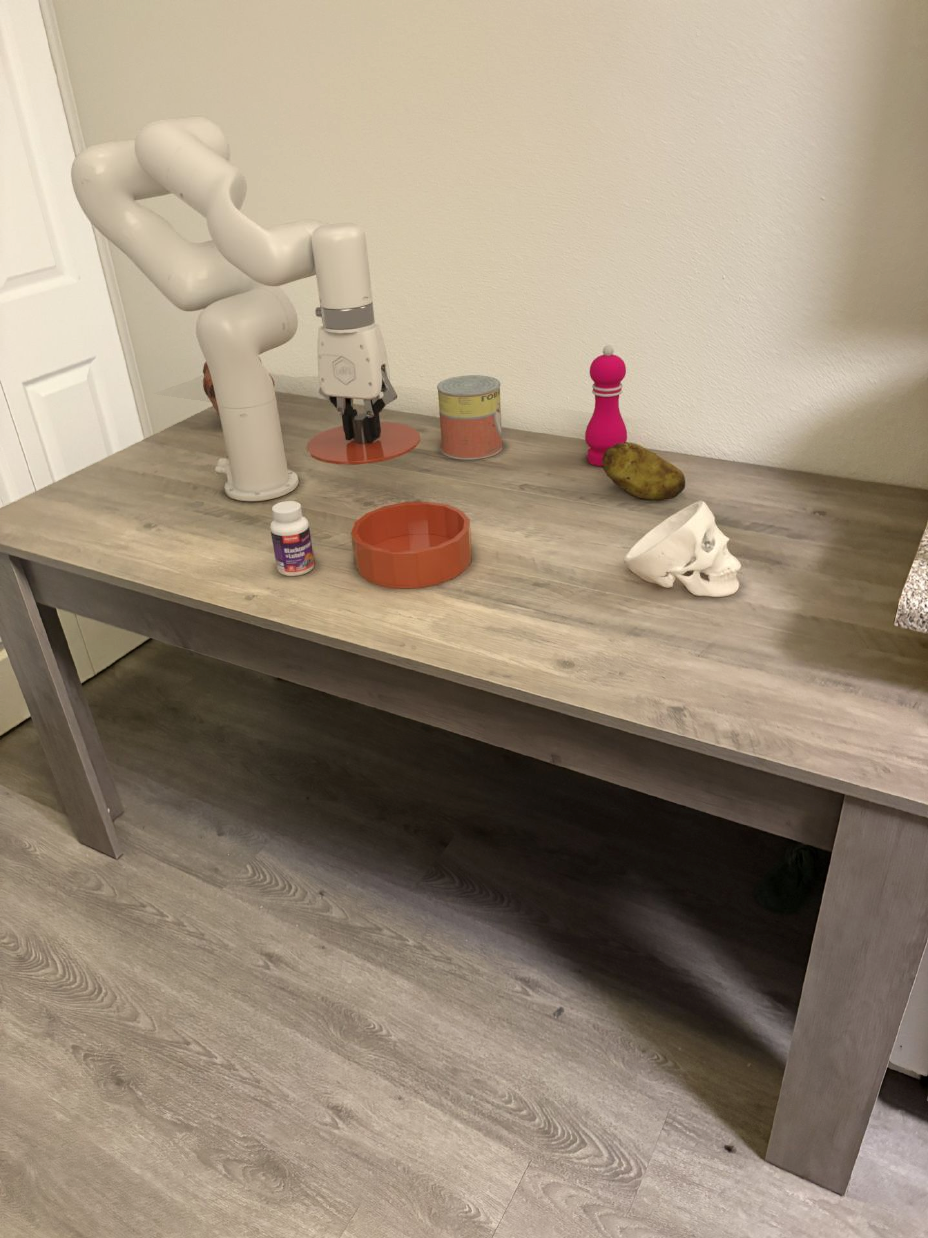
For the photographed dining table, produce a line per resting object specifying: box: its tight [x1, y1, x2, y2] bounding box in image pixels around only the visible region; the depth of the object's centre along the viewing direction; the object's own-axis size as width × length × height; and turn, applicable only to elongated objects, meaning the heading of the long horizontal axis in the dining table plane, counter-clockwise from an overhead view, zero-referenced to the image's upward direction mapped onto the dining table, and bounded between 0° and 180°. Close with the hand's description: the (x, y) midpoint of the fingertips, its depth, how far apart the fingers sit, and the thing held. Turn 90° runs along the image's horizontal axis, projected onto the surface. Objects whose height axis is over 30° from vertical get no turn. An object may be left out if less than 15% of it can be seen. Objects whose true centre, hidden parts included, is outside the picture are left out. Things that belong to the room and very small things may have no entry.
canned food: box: [436, 374, 503, 461], centre depth 167 cm, size 11×11×12 cm
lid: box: [306, 413, 421, 466], centre depth 142 cm, size 18×18×5 cm
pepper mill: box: [584, 344, 628, 467], centre depth 156 cm, size 7×7×20 cm
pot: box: [350, 501, 473, 589], centre depth 131 cm, size 17×17×6 cm
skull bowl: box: [623, 500, 742, 598], centre depth 122 cm, size 10×14×12 cm
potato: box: [602, 441, 686, 500], centre depth 146 cm, size 8×13×8 cm, turn 46°
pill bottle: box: [269, 500, 315, 577], centre depth 130 cm, size 5×5×10 cm
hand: (363, 437), depth 142 cm, fingers closed on lid, 3 cm apart
